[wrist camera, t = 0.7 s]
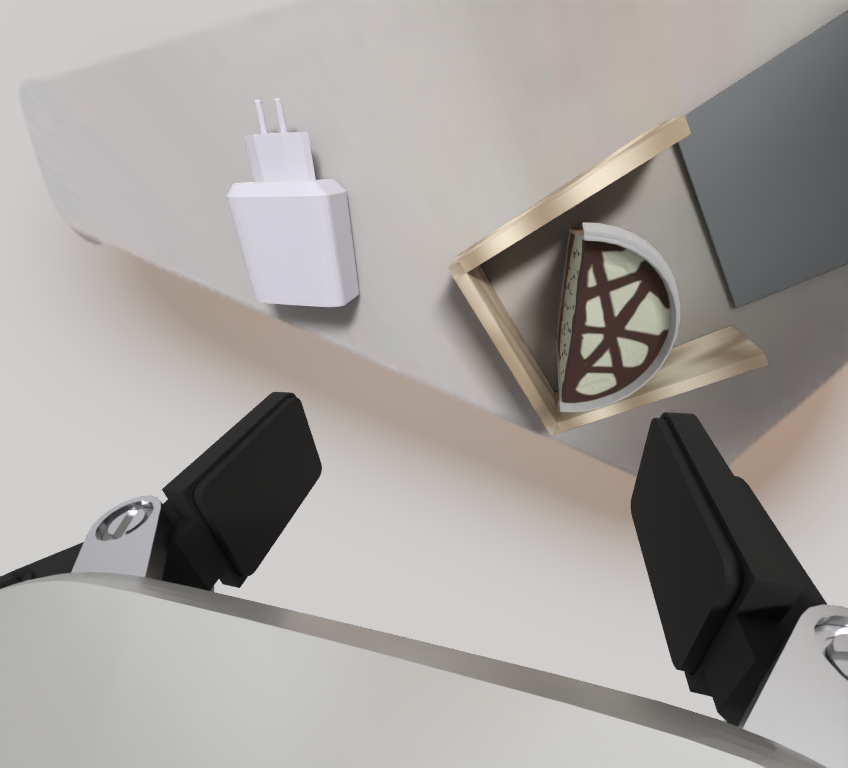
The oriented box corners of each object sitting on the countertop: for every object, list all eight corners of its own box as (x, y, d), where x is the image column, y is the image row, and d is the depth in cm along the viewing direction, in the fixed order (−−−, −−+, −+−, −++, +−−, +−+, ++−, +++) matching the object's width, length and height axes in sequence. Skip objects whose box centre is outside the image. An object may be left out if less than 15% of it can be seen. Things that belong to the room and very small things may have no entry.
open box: (659, 122, 24) (684, 115, 20) (735, 335, 29) (768, 364, 25) (459, 254, 31) (447, 268, 27) (549, 404, 36) (550, 435, 32)
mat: (887, -16, 19) (893, -19, 18) (923, 230, 23) (929, 230, 23) (670, 124, 24) (672, 124, 23) (734, 306, 28) (736, 307, 28)
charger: (339, 98, 28) (362, 292, 36) (237, 107, 30) (280, 287, 38) (306, 89, 24) (341, 308, 32) (192, 99, 26) (250, 302, 34)
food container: (627, 357, 32) (659, 426, 24) (553, 354, 34) (559, 418, 25) (664, 202, 26) (724, 222, 18) (571, 207, 27) (586, 227, 19)
